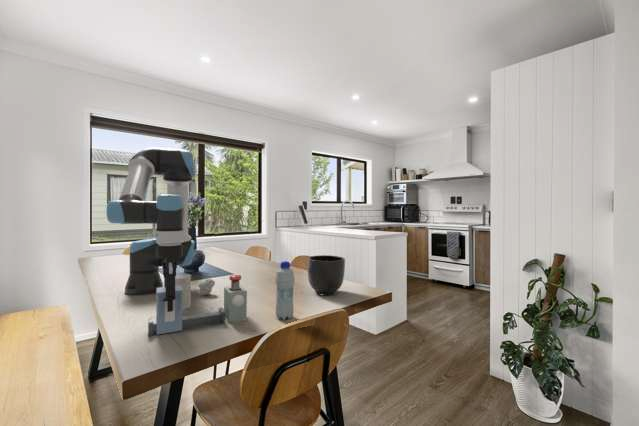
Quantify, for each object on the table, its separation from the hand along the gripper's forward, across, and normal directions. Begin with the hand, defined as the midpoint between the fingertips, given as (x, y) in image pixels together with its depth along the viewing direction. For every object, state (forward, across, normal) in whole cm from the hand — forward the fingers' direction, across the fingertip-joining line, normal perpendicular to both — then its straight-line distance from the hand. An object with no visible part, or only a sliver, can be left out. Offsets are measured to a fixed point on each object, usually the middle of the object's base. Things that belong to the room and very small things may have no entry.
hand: (169, 317), depth 96 cm
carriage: (+4, 0, 0) cm, 4 cm away
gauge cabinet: (+4, -2, +21) cm, 21 cm away
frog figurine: (+4, -35, +16) cm, 39 cm away
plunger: (-3, -2, +21) cm, 21 cm away
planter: (+4, -15, +66) cm, 67 cm away
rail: (+4, 0, +6) cm, 7 cm away
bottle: (+4, +6, +36) cm, 37 cm away
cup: (+4, -22, +4) cm, 23 cm away
